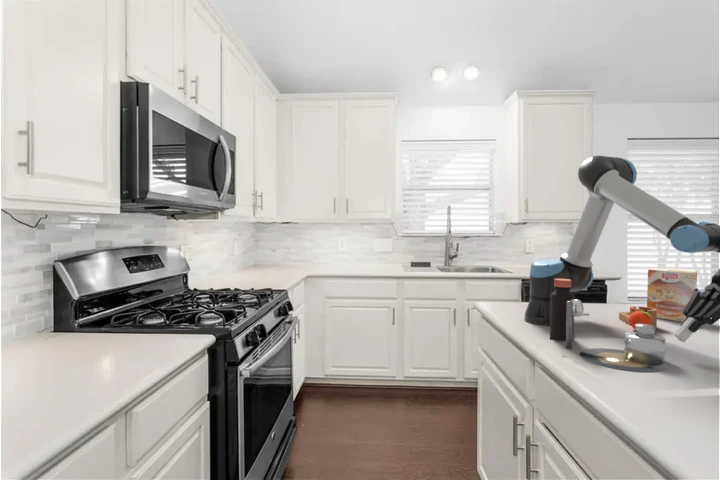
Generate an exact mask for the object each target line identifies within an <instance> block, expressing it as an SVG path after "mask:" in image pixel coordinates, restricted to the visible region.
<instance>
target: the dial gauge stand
mask: <svg viewBox="0 0 720 480" xmlns="http://www.w3.org/2000/svg"><path fill="white" fill-rule="evenodd" d="M584 310H585V309H584V304H583V302H582V301H581V300H580V299H577V298H576V299H575V298H574V299H573V300H571V301H567V313H566V342H565V349H567V350H572V348H573V341H572V319H573V316H574V318H579V317H583V316H584V317H585V316H586V317H588V316H590V312H589V313H584Z"/></svg>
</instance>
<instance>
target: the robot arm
mask: <svg viewBox="0 0 720 480" xmlns="http://www.w3.org/2000/svg"><path fill="white" fill-rule="evenodd" d="M637 174H638V173H637V169H636V167H635V165H634V163H633V162H631V161H630V160H628V159H626V158H622V157H616V156H606V155H593V156H590V157H588V158H587V159H584V161H582V163H581V164H580V165H579V167H578V172H577V177H578V180H579V182H580V183H581V185H583V186H584V187H585V188H586V190H587V191H586V192H588V194H589V195H588V198H587V200H586V203H585V206H584V208H583V212H581V216H580V218H579V220H578V223H577V226H576V229H575V231H574V234H573V236H572V239H571V241H570V243H569V246H568V249H567V252H564V253H562V254H561V255H560V258H559V259H540V260H537V261H534V262H532V263H531V264H530V270H529V301H528V305H527V306H526V309H525V312H524V321H526V322H528V323H531V324H535V325H543V326H550V302H551V294H552V293H553V292H554V291H555V286H554V279H570V280H572V281H571V289H570V292H571V293H577V292H579V291H580V292H581V291H583V290H586V289H587V288H589V287H590V286H591V285H592V282H593V280H594V273H593V269H592V268H593V265H594V264H593V262H592V261H591V259H592V257H593V255H594V252H595V250H596V247H597V244H598V242H599V240H600V238H601V235H602V234H603V233H602V232H603V231H604V228H605V226H606V223H607V221H608V219H609V216H610V214H611V212H612V209H613V207H614V204H616V205H617V206H619V207H620V208H622V209H623V210H624V211H626V212H628V214H629V213H630V215H633V216H634V217H636V218H637V219H639V220H640V222H643V223H645V225H647V226H649V227H650V228H652V229H653V230H655V231H657V232H658V233H660V234H661V235H662V236H664V237H665V238H667V239H668V240H669V241H670V244H671V245H672V247H673V248H674V249H675V250H677V251H679V252H682V253H687V254H688V253H690V254H693V253H703V252H715V253H718V254H720V225H719V224H717V223H713V222H708V221H700V222H698V223H697V222H696V221H694V220H692V219H690V218H689V217H687V216H685V215H684V214H683V213H681V212H679V211H677V210H676V209H674V208H673V207H671V206H669V205H667V204H666V203H664V202H662V201H661V200H660V199H658V198H656V197H655V196H653V195H651V194H650V193H648V192H646V191H645V190H643V189H641V188H640V187H638V186H636V185H635V182H636V181H637V176H638V175H637ZM683 314H684V315H685V316H686V317H687V318H686V319H685V320H684V321H683V322H682V321H681V323H680V325H679V328H677V330H676V331H675V332H674V333H673V335H674V336H675V338H677V340H678V341H680V342H681V343H685V342H686V341H687V340H689V338H690V337H691V336H692V335H693V333H696V332H698V330H699V329H700V328H701V326H705V325H706V324H708V325H709V326H712V325H714V324H715V323H717V321H719V320H720V268H719V269H718V270H717V271H716V272H714V274H713V276H711V282H710V283H709V284H707V285H705V287H704V288H702V289H699V288H698V287H697V288H695V289H694V290H693V295H692V297H691V299H690V300H689V302H688V304H687V306H686V307H685V309H684V311H683Z"/></svg>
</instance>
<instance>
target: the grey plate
mask: <svg viewBox="0 0 720 480" xmlns="http://www.w3.org/2000/svg"><path fill="white" fill-rule="evenodd" d="M579 357H581V358H582V359H583V360H585V361H586V362H589V363H592V364H593V365H597V366H600V367H603V368H607V369H612V370H616V371H622V372H630V373H640V374H642V373H643V374H645V373H646V374H648V373H649V374H651V373H653V374H654V373H661V372H665V371H666V370H668V367H669V366H668V365H667V363H666V362H664V363H663V364H647V363H641V362H636V361H633V360H630V359H627V358H626V357H625V356H624V350H622V349H615V348H614V349H613V348H603V347H602V348H601V347H600V348H588V349H587V348H586V349H583V350H581V351H580V352H579Z"/></svg>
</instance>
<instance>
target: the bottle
mask: <svg viewBox="0 0 720 480" xmlns="http://www.w3.org/2000/svg"><path fill="white" fill-rule="evenodd" d="M571 281H572V280H570V279H554V286H555V291H554V292H553V293H552V294H551V302H550V325H549V340H550V341H557V342H565V343H566V313H567V301H571V300H573V299H575V295H574V294H573V292H570V289H571ZM574 325H575V317H574V316H573V319H572V342H573V341H574V337H575V336H574V333H575V330H574V329H575V326H574Z"/></svg>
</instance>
